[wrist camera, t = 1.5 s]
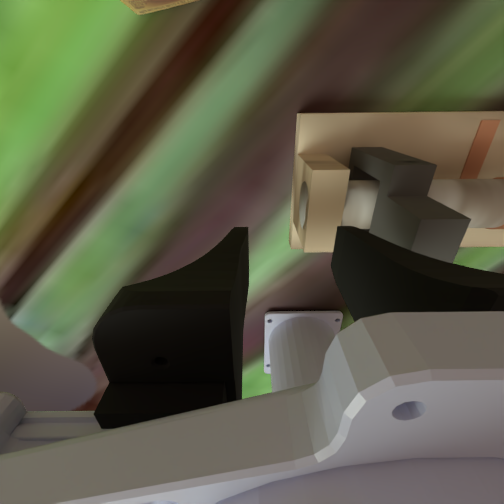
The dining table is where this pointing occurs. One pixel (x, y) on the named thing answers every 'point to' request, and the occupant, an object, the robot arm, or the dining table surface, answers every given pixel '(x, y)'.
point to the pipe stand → (406, 142)
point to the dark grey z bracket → (408, 203)
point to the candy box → (153, 5)
